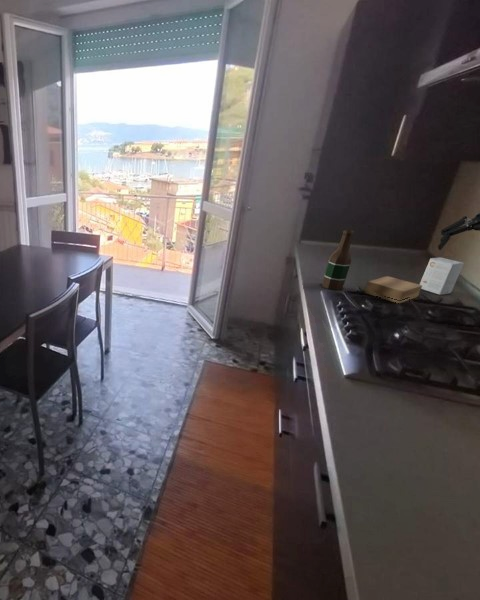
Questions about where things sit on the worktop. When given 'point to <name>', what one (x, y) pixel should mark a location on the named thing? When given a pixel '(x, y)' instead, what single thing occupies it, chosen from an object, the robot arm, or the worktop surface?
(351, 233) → the beer bottle
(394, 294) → the birch block
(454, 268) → the small box
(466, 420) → the worktop surface
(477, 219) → the robot arm
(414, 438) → the worktop surface
